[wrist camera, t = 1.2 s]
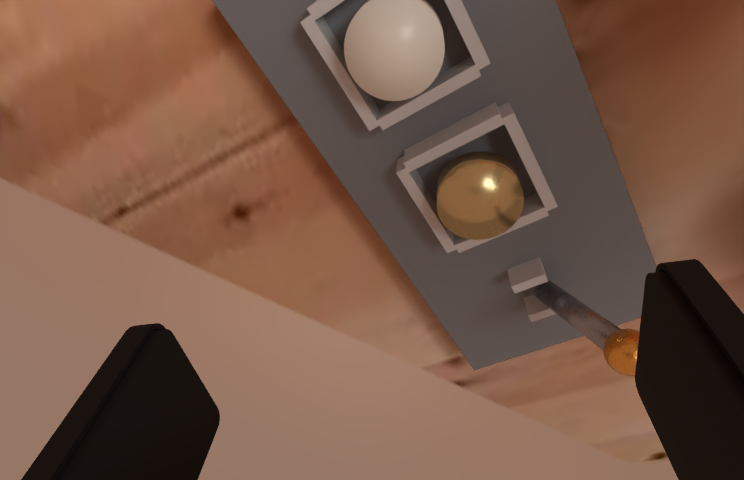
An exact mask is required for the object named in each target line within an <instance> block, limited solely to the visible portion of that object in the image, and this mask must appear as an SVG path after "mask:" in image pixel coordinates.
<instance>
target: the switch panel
mask: <svg viewBox="0 0 744 480" xmlns="http://www.w3.org/2000/svg"><path fill="white" fill-rule="evenodd" d="M212 1H213V2H214V4H215V5H216V7H217V8H218V9H219V11H220V12H221V14H222V15H223V17H224V18H225V19H226V21H227V22H228V24H229V25H230V26H231V28H232V29H233V31H234V32H235V33H236V35H237V36H238V38H239V39H240V41H241V42H242V43H243V45H244V46H245V48H246V49H247V50H248V52H249V53H250V55H251V56H252V57H253V59H254V60H255V62H256V63H257V64H258V66H259V67H260V69H261V70H262V72H263V73H264V74H265V76H266V77H267V79H268V80H269V81H270V83H271V84H272V86H273V87H274V88H275V90H276V91H277V93H278V94H279V96H280V97H281V98H282V100H283V101H284V103H285V104H286V105H287V107H288V108H289V110H290V111H291V112H292V114H293V115H294V117H295V118H296V120H297V121H298V122H299V124H300V125H301V127H302V128H303V129H304V131H305V132H306V134H307V135H308V136H309V138H310V139H311V141H312V142H313V144H314V145H315V146H316V148H317V149H318V151H319V152H320V153H321V155H322V156H323V158H324V159H325V160H326V162H327V163H328V165H329V166H330V168H331V169H332V170H333V172H334V173H335V175H336V176H337V177H338V179H339V180H340V182H341V183H342V184H343V186H344V187H345V189H346V190H347V192H348V193H349V194H350V196H351V197H352V199H353V200H354V201H355V203H356V204H357V206H358V207H359V208H360V210H361V211H362V213H363V214H364V215H365V217H366V218H367V220H368V221H369V223H370V224H371V225H372V227H373V228H374V230H375V231H376V232H377V234H378V235H379V237H380V238H381V239H382V241H383V242H384V244H385V245H386V247H387V248H388V249H389V251H390V252H391V254H392V255H393V256H394V258H395V259H396V261H397V262H398V263H399V265H400V266H401V268H402V269H403V271H404V272H405V273H406V275H407V276H408V278H409V279H410V280H411V282H412V283H413V285H414V286H415V287H416V289H417V290H418V292H419V293H420V295H421V296H422V297H423V299H424V300H425V302H426V303H427V304H428V306H429V307H430V309H431V310H432V311H433V313H434V314H435V316H436V317H437V319H438V320H439V321H440V323H441V324H442V326H443V327H444V328H445V330H446V331H447V333H448V334H449V335H450V337H451V338H452V340H453V341H454V343H455V344H456V345H457V347H458V348H459V350H460V351H461V352H462V354H463V355H464V357H465V358H466V359H467V361H468V362H469V364H470V365H471V366H472V368H473V369H474V370H476V369H480V368H483V367H486V366H489V365H492V364H495V363H498V362H502V361H505V360H508V359H511V358H514V357H517V356H521V355H524V354H527V353H530V352H533V351H536V350H540V349H543V348H546V347H549V346H552V345H555V344H559V343H562V342H565V341H568V340H571V339H574V338H578V337H581V336H584V335H583V334H582V333H581V332H579V331H578V330H577V329H575V328H574V327H573V326H572V325H570V324H569V323H568V322H567V321H565V320H564V319H563V318H561V317H560V316H559V315H558V314H556V313H555V312H554V311H552V310H551V309H550V308H549V307H547V306H546V305H545V304H544V303H542V302H541V301H540V300H538V299H537V298H536V297H535V295H534V293H533V287H534V286H537V285H540V284H543V283H545V282H548V280H550V281H552V282H554V283H555V284H556V285H558V286H559V287H561V288H562V289H564V290H565V291H566V292H568V293H569V294H571V295H572V296H574V297H575V298H577V299H578V300H579V301H581V302H582V303H584V304H585V305H587V306H588V307H589V308H591V309H592V310H594V311H595V312H597V313H598V314H600V315H601V316H602V317H604V318H605V319H607V320H608V321H610V322H611V323H612V324H614V325H619V324H622V323H625V322H628V321H631V320H634V319H638V318H641V314H642V305H643V296H644V286H645V279H646V275H647V274H648V273H654V272H655V271H656V264H655V261H654V259H653V256H652V254H651V251H650V248H649V246H648V243H647V240H646V238H645V235H644V232H643V230H642V227H641V224H640V222H639V219H638V216H637V214H636V211H635V209H634V206H633V203H632V201H631V198H630V195H629V193H628V190H627V187H626V185H625V182H624V179H623V177H622V174H621V171H620V169H619V166H618V164H617V161H616V158H615V156H614V153H613V150H612V148H611V145H610V142H609V140H608V137H607V134H606V132H605V129H604V126H603V124H602V121H601V119H600V116H599V113H598V111H597V108H596V105H595V103H594V100H593V97H592V95H591V92H590V89H589V87H588V84H587V81H586V79H585V76H584V73H583V71H582V68H581V66H580V63H579V60H578V58H577V55H576V52H575V50H574V47H573V44H572V42H571V39H570V36H569V34H568V31H567V28H566V26H565V23H564V21H563V18H562V15H561V13H560V10H559V7H558V5H557V2H556V0H426V1H427V2H428V3H429V4H430V5H431V6H432V7H433V8H434V10H435V11H436V13H437V15H438V16H439V19H440V21H441V24H442V28H443V35H444V43H445V53H444V59H443V64H442V66H441V69H440V71H439V73H438V75H437V77H436V78H435V80H434V81H433V83H432V84H431V85H430V86H429V87H428V88H427V89H426V90H424V91H423V92H422V93H420V94H418V95H416V96H414V97H412V98H409V99H406V100H401V101H387V100H382V99H379V98H376V97H374V96H372V95H370V94H368V93H367V92H365V91H364V90H363V89H362V88H360V87H359V85H358V84H357V83H356V82H355V81H354V79H353V78H352V76H351V74H350V72H349V70H348V68H347V65H346V61H345V56H344V41H345V36H346V32H347V29H348V26H349V24H350V22H351V21H352V19H353V17H354V16H355V14H356V13H357V11H358V10H359V9H360V7H361V6H362V5H363V4H364V3H365V2H366V1H367V0H212ZM474 151H487V152H492V153H495V154H498V155H500V156H502V157H503V158H505V159H506V160H507V161H508V162H510V164H511V165H512V166H513V167H514V169H515V171H516V173H517V176H518V179H519V182H520V185H521V188H522V191H523V195H524V206H523V210H522V212H521V215H520V217H519V218H518V220H517V221H516V223H515V224H514V225H513V226H512V227H511V228H510V229H508V230H507V231H505V232H504V233H502V234H500V235H498V236H496V237H493V238H489V239H483V240H472V239H466V238H463V237H460V236H458V235H455V234H454V233H452V232H451V231H450V230H448V229H447V228H446V227H445V226H444V224H443V223H442V222H441V220H440V218H439V215H438V211H437V189H436V188H437V181H438V178H439V176H440V174H441V172H442V170H443V169H444V168H445V166H446V165H447V164H448V163H449V162H451V161H452V160H453V159H455V158H457V157H458V156H460V155H463V154H465V153H469V152H474Z"/></svg>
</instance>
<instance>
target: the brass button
mask: <svg viewBox="0 0 744 480" xmlns="http://www.w3.org/2000/svg"><path fill="white" fill-rule="evenodd" d="M436 189H437V211H438V215H439V218H440V220H441V222H442V223H443V224H444V226H445V227H446V228H447V229H448V230H450V231H451V232H452V233H454V234H455V235H458V236H460V237H463V238H466V239H472V240H483V239H489V238H493V237H496V236H498V235H500V234H502V233H504V232H505V231H507V230H508V229H510V228H511V227H512V226H513V225H514V224H515V223H516V221H517V220H518V218H519V217H520V215H521V212H522V210H523V206H524V195H523V191H522V188H521V185H520V182H519V179H518V176H517V173H516V171H515V169H514V167H513V166H512V165H511V164H510V162H508V161H507V160H506V159H505V158H503V157H502V156H500V155H498V154H495V153H492V152H487V151H474V152H469V153H465V154H463V155H460V156H458V157H457V158H455V159H453V160H452V161H451V162H449V163H448V164H447V165H446V166H445V168H444V169H443V170H442V172H441V174H440V176H439V178H438V181H437V188H436Z"/></svg>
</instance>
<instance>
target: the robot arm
mask: <svg viewBox="0 0 744 480" xmlns="http://www.w3.org/2000/svg"><path fill="white" fill-rule="evenodd" d="M635 382H636V387H637V390H638V393H639V396H640V398H641V400H642V402H643V404H644V406H645V409H646V411H647V413H648V415H649V417H650V419H651V421H652V424H653V426H654V428H655V430H656V432H657V434H658V436H659V439H660V441H661V443H662V445H663V447H664V449H665V451H666V454H667V456H668V458H669V460H670V462H671V464H672V466H673V469H674V471H675V473H676V475H677V477H678V479H679V480H744V314H743V313H742V312H741V310H740V309H739V308H738V307H737V306H736V304H735V303H734V302H733V301H732V300H731V298H730V297H729V296H728V295H727V293H726V292H725V291H724V290H723V289H722V287H721V286H720V285H719V284H718V283H717V281H716V280H715V279H714V278H713V276H712V275H711V274H710V273H709V272H708V270H707V269H706V268H705V267H704V266H703V264H702V263H700V262H699V261H698V260H695V259H693V260H684V261H676V262H668V263H661V264H658V266H657V267H656V271H655V272H654V273H648V274H647V275H646V279H645V286H644V296H643V305H642V314H641V324H640V333H639V342H638V351H637V361H636V370H635ZM219 420H220V414H219V410H218V408H217V406H216V404H215V403H214V401H213V399H212V398H211V396H210V394H209V393H208V391H207V389H206V388H205V386H204V384H203V383H202V381H201V380H200V378H199V376H198V374H197V373H196V371H195V370H194V368H193V366H192V365H191V363H190V361H189V359H188V358H187V356H186V354H185V353H184V351H183V349H182V348H181V346H180V345H179V343H178V341H177V340H176V338H175V336H174V335H173V333H172V332H171V331H170V330H168V329H165V327H164V326H163V325H161V324H147V325H139V326H133V327H130V328H129V329H128V330H127V331H126V332H125V333H124V335H123V336H122V337H121V339H120V340H119V342H118V343H117V345H116V346H115V347H114V349H113V350H112V352H111V353H110V355H109V356H108V358H107V359H106V360H105V362H104V363H103V364H102V366H101V367H100V369H99V370H98V372H97V373H96V374H95V376H94V377H93V379H92V380H91V382H90V383H89V384H88V386H87V387H86V389H85V390H84V391H83V393H82V394H81V396H80V397H79V398H78V400H77V401H76V403H75V404H74V406H73V407H72V408H71V410H70V411H69V413H68V414H67V416H66V417H65V418H64V420H63V421H62V423H61V424H60V426H59V427H58V428H57V430H56V431H55V433H54V434H53V435H52V437H51V438H50V440H49V441H48V443H47V444H46V445H45V447H44V448H43V450H42V451H41V453H40V454H39V455H38V457H37V458H36V460H35V461H34V462H33V464H32V465H31V467H30V468H29V469H28V471H27V472H26V474H25V475H24V477H23V478H22V479H21V480H197V479H198V477H199V474H200V472H201V469H202V466H203V464H204V461H205V459H206V457H207V454H208V451H209V449H210V446H211V444H212V441H213V439H214V436H215V434H216V431H217V428H218V425H219Z"/></svg>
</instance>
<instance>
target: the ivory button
mask: <svg viewBox="0 0 744 480" xmlns="http://www.w3.org/2000/svg"><path fill="white" fill-rule="evenodd" d="M444 53H445V43H444V35H443V28H442V24H441V21H440V19H439V16H438V15H437V13H436V11H435V10H434V8H433V7H432V6H431V5H430V4H429V3H428V2H427V1H426V0H367V1H366V2H365V3H364V4H363V5H362V6H361V7H360V9H359V10H358V11H357V13H356V14H355V16H354V17H353V19H352V21H351V22H350V24H349V26H348V29H347V32H346V36H345V41H344V56H345V61H346V65H347V68H348V70H349V72H350V74H351V76H352V78H353V79H354V81H355V82H356V83H357V84H358V85H359V87H360V88H362V89H363V90H364V91H365V92H367V93H368V94H370V95H372V96H374V97H376V98H379V99H382V100H387V101H401V100H406V99H409V98H412V97H414V96H416V95H418V94H420V93H422V92H423V91H424V90H426V89H427V88H428V87H429V86H430V85H431V84H432V83H433V81H434V80H435V78H436V77H437V75H438V73H439V71H440V69H441V66H442V64H443V59H444Z"/></svg>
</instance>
